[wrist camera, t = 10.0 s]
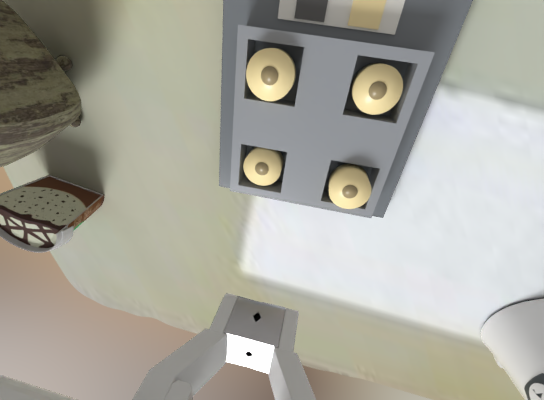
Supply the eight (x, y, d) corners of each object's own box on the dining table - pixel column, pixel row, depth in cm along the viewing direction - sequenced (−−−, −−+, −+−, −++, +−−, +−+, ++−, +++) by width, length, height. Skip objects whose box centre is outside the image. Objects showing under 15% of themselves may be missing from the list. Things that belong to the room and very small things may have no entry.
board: (480, -43, 23) (516, -64, 19) (380, 209, 36) (387, 231, 32) (232, -71, 25) (212, -96, 20) (223, 179, 38) (211, 196, 34)
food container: (45, 202, 46) (-18, 237, 38) (40, 171, 43) (-31, 202, 34) (113, 226, 46) (65, 267, 38) (112, 197, 43) (60, 235, 35)
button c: (403, 66, 26) (411, 68, 24) (388, 112, 28) (393, 118, 26) (357, 59, 26) (360, 60, 24) (345, 106, 28) (347, 110, 26)
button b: (286, 147, 32) (283, 154, 29) (280, 180, 34) (277, 189, 32) (249, 140, 32) (244, 147, 30) (247, 173, 34) (242, 182, 32)
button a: (373, 167, 29) (377, 177, 27) (361, 201, 32) (364, 212, 30) (333, 160, 30) (334, 169, 28) (324, 194, 32) (324, 205, 30)
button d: (299, 51, 25) (297, 52, 23) (292, 100, 27) (289, 104, 25) (254, 44, 25) (247, 44, 23) (250, 93, 28) (244, 97, 26)
